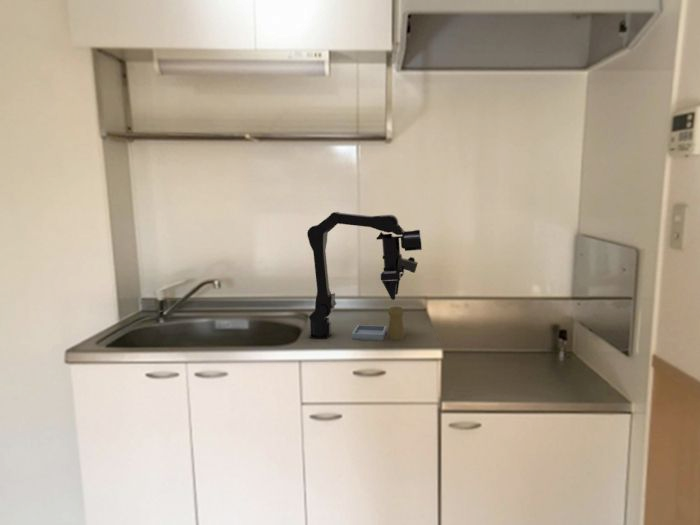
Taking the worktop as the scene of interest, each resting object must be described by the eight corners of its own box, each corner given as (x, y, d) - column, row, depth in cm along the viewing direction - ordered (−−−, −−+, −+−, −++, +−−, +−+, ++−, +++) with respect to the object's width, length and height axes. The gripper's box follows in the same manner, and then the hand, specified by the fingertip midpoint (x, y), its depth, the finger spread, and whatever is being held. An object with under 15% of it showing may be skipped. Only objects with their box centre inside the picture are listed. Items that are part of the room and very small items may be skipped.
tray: (352, 339, 162) (351, 333, 162) (357, 330, 173) (357, 324, 173) (382, 340, 160) (382, 334, 160) (386, 331, 171) (386, 326, 170)
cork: (404, 335, 166) (404, 305, 165) (404, 340, 160) (404, 309, 159) (387, 334, 167) (387, 305, 165) (387, 340, 161) (387, 309, 159)
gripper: (413, 253, 148) (416, 301, 149) (416, 248, 166) (419, 291, 168) (378, 255, 150) (382, 302, 152) (385, 249, 168) (388, 292, 170)
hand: (394, 297), depth 160 cm, fingers open, 9 cm apart
